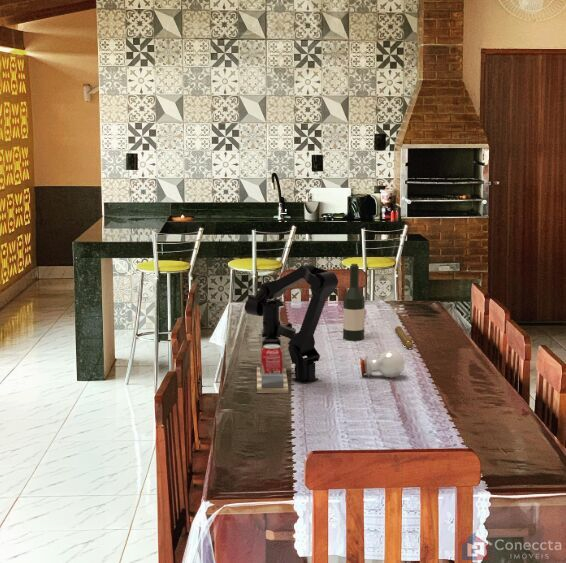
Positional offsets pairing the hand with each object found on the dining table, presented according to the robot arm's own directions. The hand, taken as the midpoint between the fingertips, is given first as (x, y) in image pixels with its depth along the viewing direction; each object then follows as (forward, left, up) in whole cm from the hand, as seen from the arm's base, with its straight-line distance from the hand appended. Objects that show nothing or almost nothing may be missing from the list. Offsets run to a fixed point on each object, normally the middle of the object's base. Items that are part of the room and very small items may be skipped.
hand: (271, 362), depth 344 cm
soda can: (-12, +13, -2) cm, 18 cm away
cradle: (-9, +9, -3) cm, 13 cm away
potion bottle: (-33, -20, -4) cm, 39 cm away
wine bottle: (+10, -59, -4) cm, 60 cm away
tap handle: (-6, -69, -4) cm, 70 cm away
